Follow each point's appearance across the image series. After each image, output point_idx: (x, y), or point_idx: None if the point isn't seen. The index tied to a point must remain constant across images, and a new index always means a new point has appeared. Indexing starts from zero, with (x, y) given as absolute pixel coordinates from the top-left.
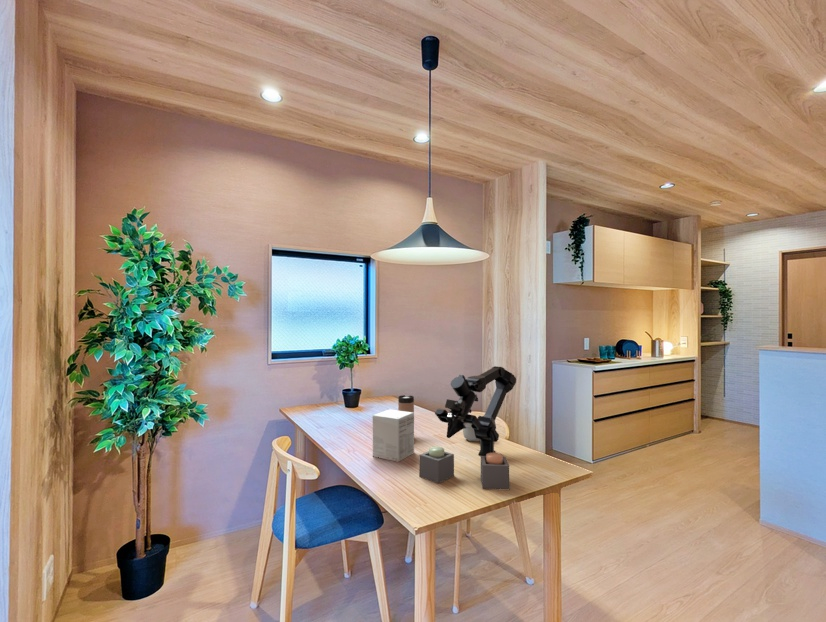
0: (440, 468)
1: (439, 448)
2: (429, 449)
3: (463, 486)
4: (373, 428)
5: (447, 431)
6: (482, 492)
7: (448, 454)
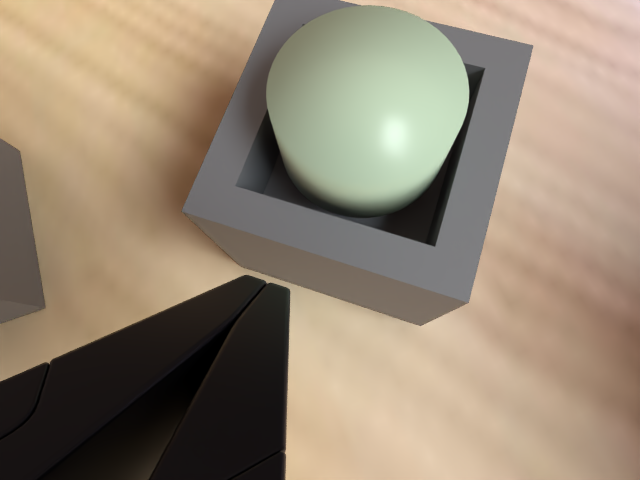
0: None
1: (340, 119)
2: (442, 36)
3: (139, 137)
4: None
5: (271, 348)
6: (17, 108)
7: (242, 190)
